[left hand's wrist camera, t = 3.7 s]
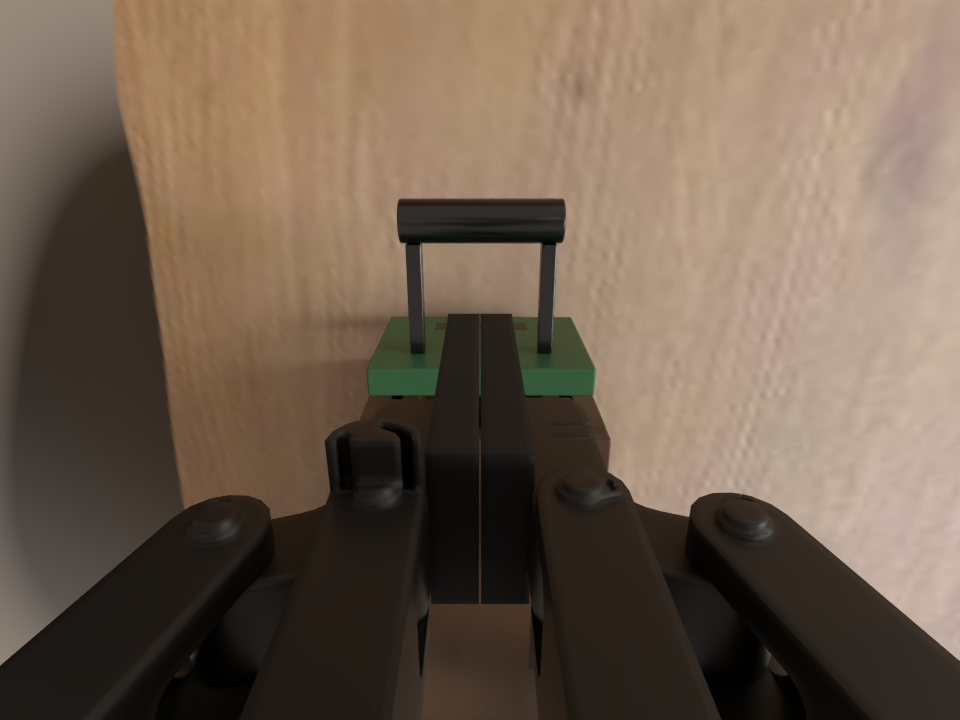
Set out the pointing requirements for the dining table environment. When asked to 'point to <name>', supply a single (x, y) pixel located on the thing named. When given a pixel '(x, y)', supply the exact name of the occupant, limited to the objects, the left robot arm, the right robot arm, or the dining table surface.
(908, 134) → the dining table surface
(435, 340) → the drawer
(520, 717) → the cabinet
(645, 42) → the dining table surface
